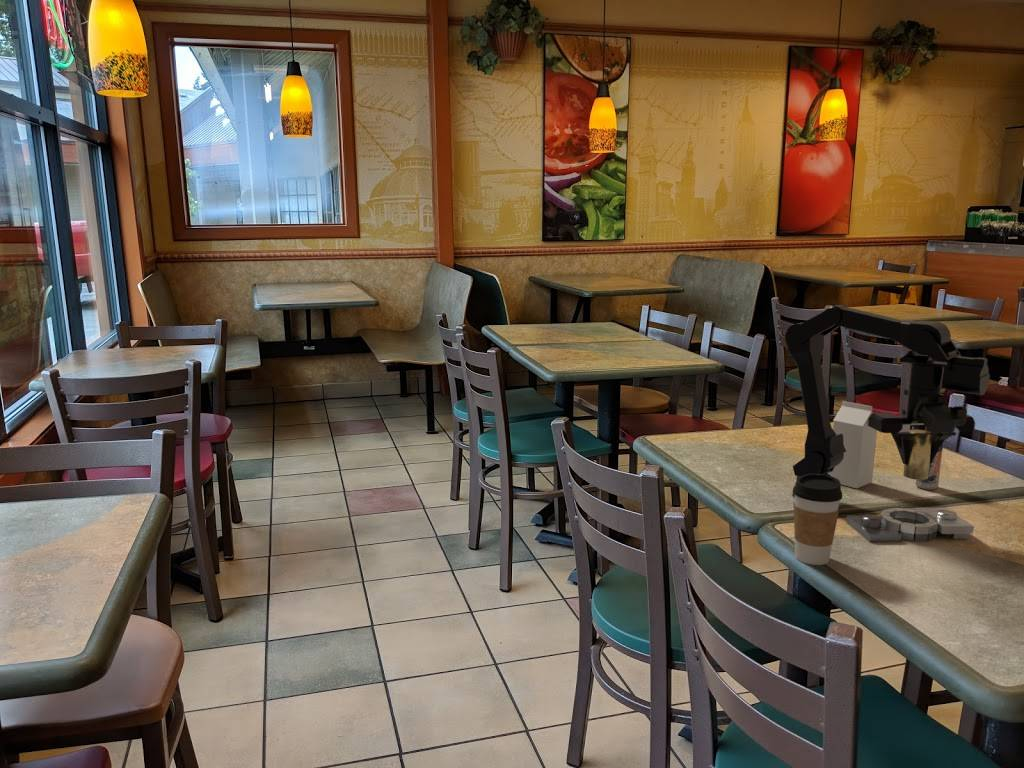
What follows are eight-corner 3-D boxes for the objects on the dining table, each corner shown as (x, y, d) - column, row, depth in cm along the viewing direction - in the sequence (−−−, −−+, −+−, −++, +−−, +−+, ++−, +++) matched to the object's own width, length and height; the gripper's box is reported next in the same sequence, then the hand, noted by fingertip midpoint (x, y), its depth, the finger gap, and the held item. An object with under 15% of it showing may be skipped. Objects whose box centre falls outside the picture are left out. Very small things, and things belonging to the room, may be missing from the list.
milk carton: (857, 489, 182) (864, 408, 178) (828, 481, 188) (834, 403, 184) (872, 483, 187) (879, 404, 183) (843, 475, 192) (850, 398, 188)
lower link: (869, 542, 153) (871, 527, 152) (846, 522, 162) (847, 508, 162) (946, 541, 153) (948, 526, 152) (919, 521, 163) (920, 507, 162)
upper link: (895, 541, 153) (897, 523, 152) (870, 522, 163) (872, 504, 162) (972, 540, 153) (974, 522, 152) (943, 521, 163) (945, 503, 162)
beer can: (914, 488, 183) (919, 438, 180) (914, 482, 187) (920, 433, 184) (937, 491, 181) (943, 440, 178) (938, 485, 185) (943, 435, 182)
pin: (910, 480, 156) (915, 435, 154) (899, 473, 160) (903, 429, 159) (932, 479, 156) (937, 435, 155) (920, 472, 161) (924, 429, 159)
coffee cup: (843, 557, 146) (850, 479, 143) (826, 572, 140) (833, 491, 136) (798, 545, 151) (804, 469, 148) (780, 559, 145) (785, 480, 142)
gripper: (900, 396, 146) (892, 477, 149) (998, 395, 147) (988, 475, 151) (870, 384, 157) (863, 460, 160) (961, 383, 158) (953, 458, 161)
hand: (916, 464), depth 158 cm, fingers closed on pin, 4 cm apart
